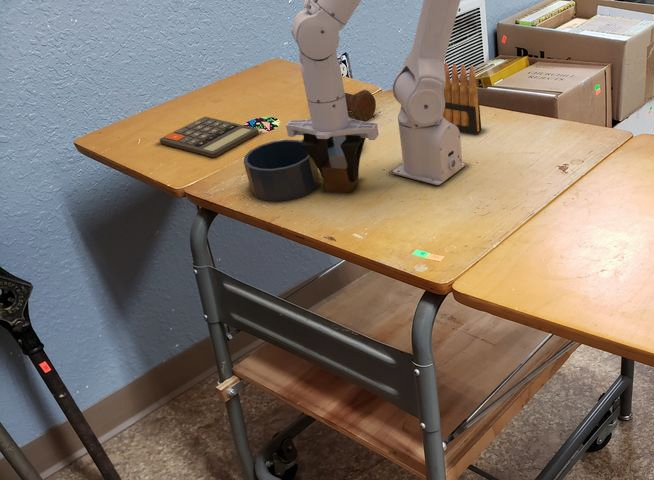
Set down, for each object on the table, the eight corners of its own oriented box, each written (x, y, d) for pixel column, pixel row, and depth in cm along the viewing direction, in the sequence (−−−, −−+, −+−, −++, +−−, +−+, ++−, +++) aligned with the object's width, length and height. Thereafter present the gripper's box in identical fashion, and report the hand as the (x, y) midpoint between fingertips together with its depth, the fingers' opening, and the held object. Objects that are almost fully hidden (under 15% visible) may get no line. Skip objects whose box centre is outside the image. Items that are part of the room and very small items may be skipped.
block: (358, 180, 117) (354, 157, 115) (349, 192, 114) (345, 168, 112) (335, 179, 118) (330, 155, 116) (325, 191, 115) (321, 167, 113)
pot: (333, 177, 119) (327, 147, 116) (286, 207, 112) (278, 176, 109) (285, 164, 124) (278, 134, 121) (237, 191, 117) (229, 161, 114)
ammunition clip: (481, 130, 129) (479, 64, 122) (477, 134, 128) (473, 67, 121) (431, 122, 134) (426, 57, 126) (426, 126, 133) (420, 60, 125)
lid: (376, 144, 128) (372, 121, 125) (331, 172, 121) (326, 148, 118) (325, 132, 134) (321, 109, 131) (280, 158, 126) (274, 134, 123)
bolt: (321, 111, 146) (372, 124, 138) (302, 106, 142) (354, 119, 134) (327, 82, 145) (378, 93, 137) (308, 76, 141) (360, 88, 133)
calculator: (204, 115, 141) (258, 128, 135) (205, 120, 142) (259, 132, 135) (158, 138, 134) (212, 152, 127) (159, 143, 135) (214, 157, 128)
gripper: (270, 104, 106) (290, 187, 114) (362, 107, 102) (374, 192, 111) (290, 87, 111) (307, 167, 119) (377, 89, 107) (388, 171, 116)
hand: (340, 178), depth 116 cm, fingers closed on block, 4 cm apart
